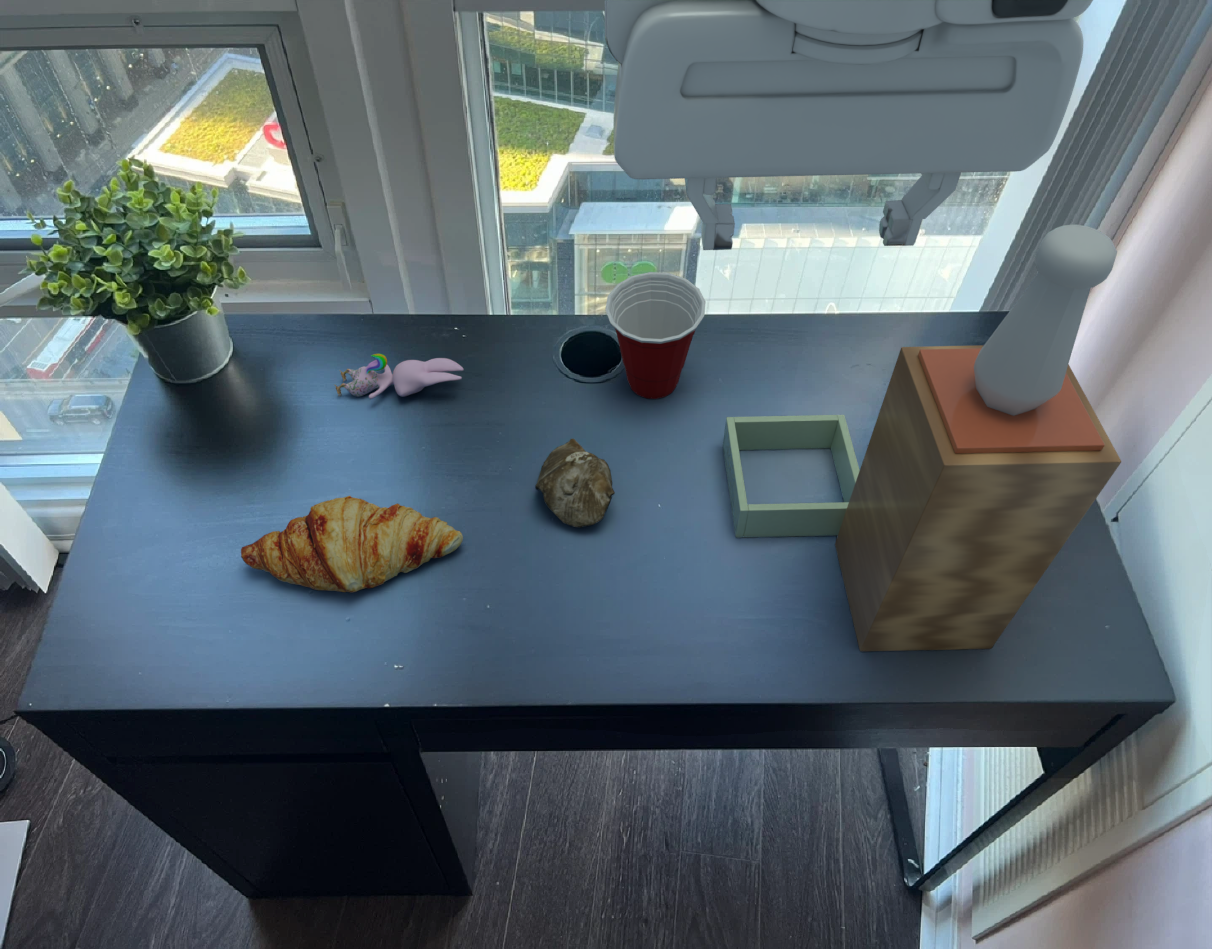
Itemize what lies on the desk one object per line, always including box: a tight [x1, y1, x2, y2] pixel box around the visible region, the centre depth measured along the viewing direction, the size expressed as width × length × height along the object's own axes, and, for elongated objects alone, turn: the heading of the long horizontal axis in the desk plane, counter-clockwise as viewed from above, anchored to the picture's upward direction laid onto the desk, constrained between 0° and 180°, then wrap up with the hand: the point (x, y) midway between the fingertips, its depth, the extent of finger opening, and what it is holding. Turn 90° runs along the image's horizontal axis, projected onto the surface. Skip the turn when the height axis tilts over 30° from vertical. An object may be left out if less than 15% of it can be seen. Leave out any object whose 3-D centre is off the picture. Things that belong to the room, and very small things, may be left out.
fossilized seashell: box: [534, 438, 616, 529], centre depth 87 cm, size 8×7×10 cm
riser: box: [834, 344, 1122, 652], centre depth 70 cm, size 12×12×26 cm
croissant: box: [240, 495, 464, 593], centre depth 82 cm, size 21×10×8 cm, turn 98°
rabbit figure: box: [334, 353, 464, 400], centre depth 97 cm, size 6×6×15 cm
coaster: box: [918, 348, 1105, 453], centre depth 60 cm, size 10×10×1 cm
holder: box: [722, 414, 860, 538], centre depth 87 cm, size 13×13×4 cm
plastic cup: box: [604, 271, 707, 400], centre depth 95 cm, size 11×11×12 cm
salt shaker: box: [974, 224, 1118, 416], centre depth 55 cm, size 6×6×13 cm
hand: (805, 241), depth 44 cm, fingers open, 8 cm apart
